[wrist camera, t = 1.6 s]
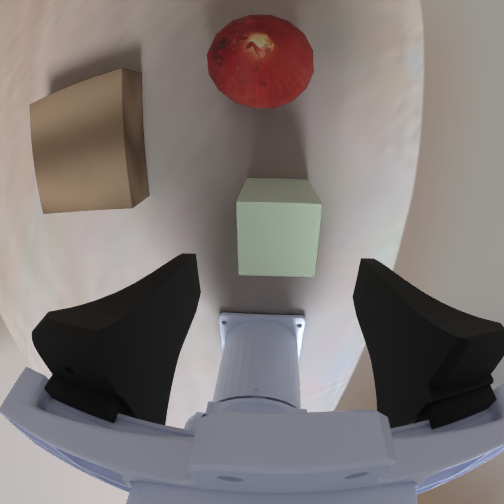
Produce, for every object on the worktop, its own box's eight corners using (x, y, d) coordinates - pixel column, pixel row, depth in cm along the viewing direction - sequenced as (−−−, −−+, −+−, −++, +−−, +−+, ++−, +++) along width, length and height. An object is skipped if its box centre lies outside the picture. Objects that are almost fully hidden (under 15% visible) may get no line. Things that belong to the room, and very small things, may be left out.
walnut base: (149, 195, 20) (132, 208, 17) (63, 202, 21) (43, 213, 18) (141, 73, 16) (121, 68, 13) (51, 102, 16) (29, 104, 14)
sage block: (304, 235, 21) (314, 277, 16) (247, 233, 21) (238, 275, 16) (308, 179, 19) (321, 204, 13) (246, 177, 19) (236, 201, 14)
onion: (209, 95, 16) (167, 82, 9) (238, 27, 14) (215, -23, 7) (288, 122, 17) (298, 123, 10) (317, 54, 14) (345, 14, 7)
